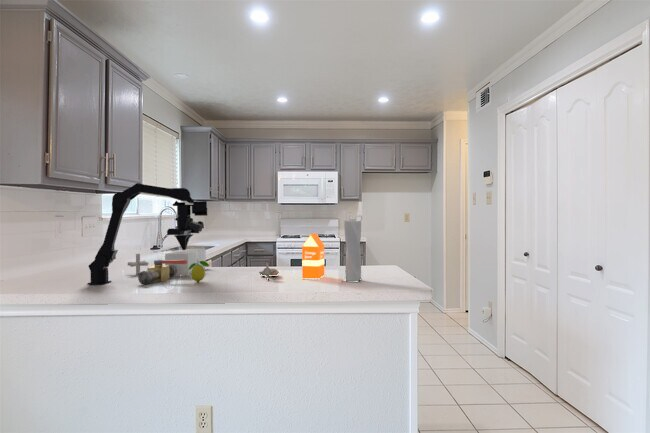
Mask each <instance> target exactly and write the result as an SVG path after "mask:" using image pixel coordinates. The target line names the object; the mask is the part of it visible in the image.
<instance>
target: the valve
mask: <svg viewBox="0 0 650 433" xmlns="http://www.w3.org/2000/svg"><path fill="white" fill-rule="evenodd" d="M265 264H266V265H265V266H266V267H265V268H264V269H263V270H261V271H259V272H258V273H259V275H261V274H262V275H266V276H267V277H266V279H267V278H269V279H270V277H269V275H277V274H278V273H279V274H280V272H279V271H278V270H277V269H275V268H270V266H269V263H268V262H266V263H265Z"/></svg>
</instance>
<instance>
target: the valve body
mask: <svg viewBox="0 0 650 433" xmlns="http://www.w3.org/2000/svg"><path fill="white" fill-rule="evenodd" d="M176 273H177V269H176V267H175V266H174V265H167V266H165V265H164V264H154V265H153V266H149V267H147V270H141V271H140V274H138V277H137V280H138V283H140V284H141V285H142V286H146V285H150V284H152V283H162V282H165V281H169V280H170V278H172V277H176V276H175V275H176Z"/></svg>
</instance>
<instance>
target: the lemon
mask: <svg viewBox="0 0 650 433" xmlns="http://www.w3.org/2000/svg"><path fill="white" fill-rule="evenodd" d="M199 262H200V264H201V265H203V266H206V267H209V266H210V265H209V263H208V262H207V261H206V262H205V261H199ZM196 264H197V263H193V264H192V265H191V266H190V267H189V270H190V269H191V268H193V269H192V271H191V273H190V277H191V278H192V280H193V281H195V282H196V283H200V281H202V280H203V279H204V278H205V276H206V271H205V269H204V268H203V267H202V266H201V265H199V264H197V265H196Z"/></svg>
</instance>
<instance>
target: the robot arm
mask: <svg viewBox="0 0 650 433" xmlns="http://www.w3.org/2000/svg"><path fill="white" fill-rule="evenodd" d="M142 193H143V194H147V195H156V196H163V197H169V198H171V199H175V202H174V203H173V204H172V206H173V207H176V214H177V215H176V217H175V221H176V224H177V225H176V226H175V227H174V228H168V229H167V230H166V234H167V236H174V237H175V239H176V240H177V242H178V244H179V245H180V248H181V250H186V249H187V247H188V244H189V241H190V238H191V237H192V236H194V234H200V232H202V231H203V229H205V225H204V221H201V220H200V221H194V218H192V217H191V214H194V217H198V216H200V217H203V216H205V217H206V216H208V207H207V206H208V203H207V201H206V200H201V201H195V200H194V198H192V197H191V196H192V195H191V192H190V191H189V189H187V188H185V187H175V188H173V187H171V188H169V187H163V186H156V185H150V184H149V185H148V184H143V183H141V182H137V183H135V184H133V185H132V186H130V187H128V188H126V189H124V190H123V191H122V192H119V191H118V192H115V193H114V194H113V195H112V198H111V211H112V212H111V216H110V219H109V222H108V226H107V229H106V233H105V237H104V239H103V243H102V245H101V246H100V248H99V249H98V251H97V253H96V255H95V257H94V260H93V261H92V262H90V264H89V265H88V269H89V272H90V282H87V284H86V285H104V284H107V283H108V284H109V283H112V280H109V266H110V264H112V263H113V262H114V260H116V259H117V256H116V255H117V254H118V251H119V250H118V249H115V245H116V244H115V243H116V240H117V236H118V233H119V230H120V226H121V223H122V219H123V216H124V214H125V212H126V211H127V209H128V207H129V205H130V204H131V201H132V200H133V199H135V198H136V197H138V196H139V195H140V194H142ZM179 201H181V202H179ZM186 202H187V203H189V204H186Z"/></svg>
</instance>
